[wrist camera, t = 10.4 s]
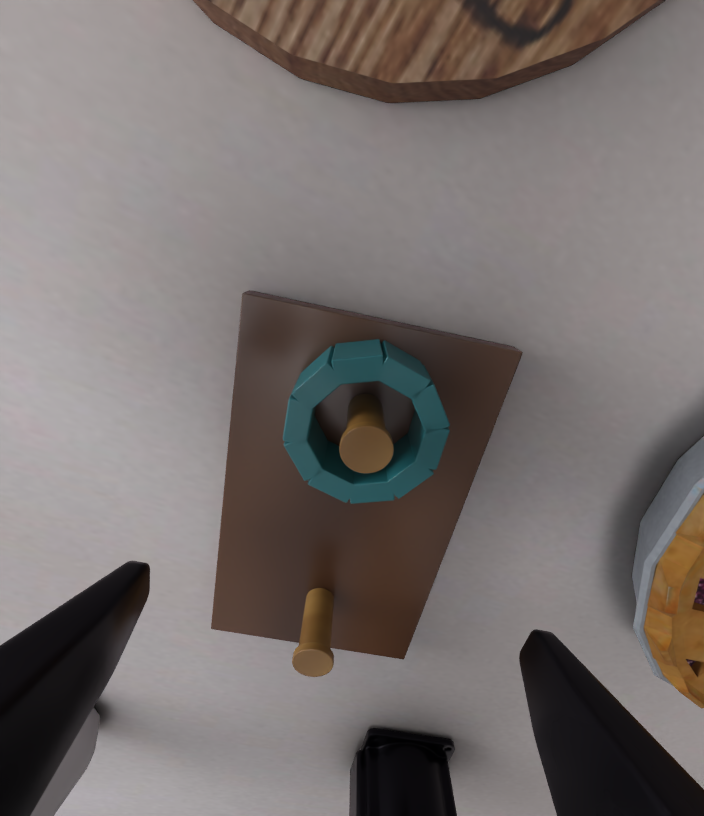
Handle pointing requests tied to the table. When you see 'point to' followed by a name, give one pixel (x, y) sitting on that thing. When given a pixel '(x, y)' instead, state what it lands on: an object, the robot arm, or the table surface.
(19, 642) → the robot arm
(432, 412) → the ring
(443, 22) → the trivet
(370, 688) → the table surface
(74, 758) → the salt shaker
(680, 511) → the pie
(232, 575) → the peg rack
